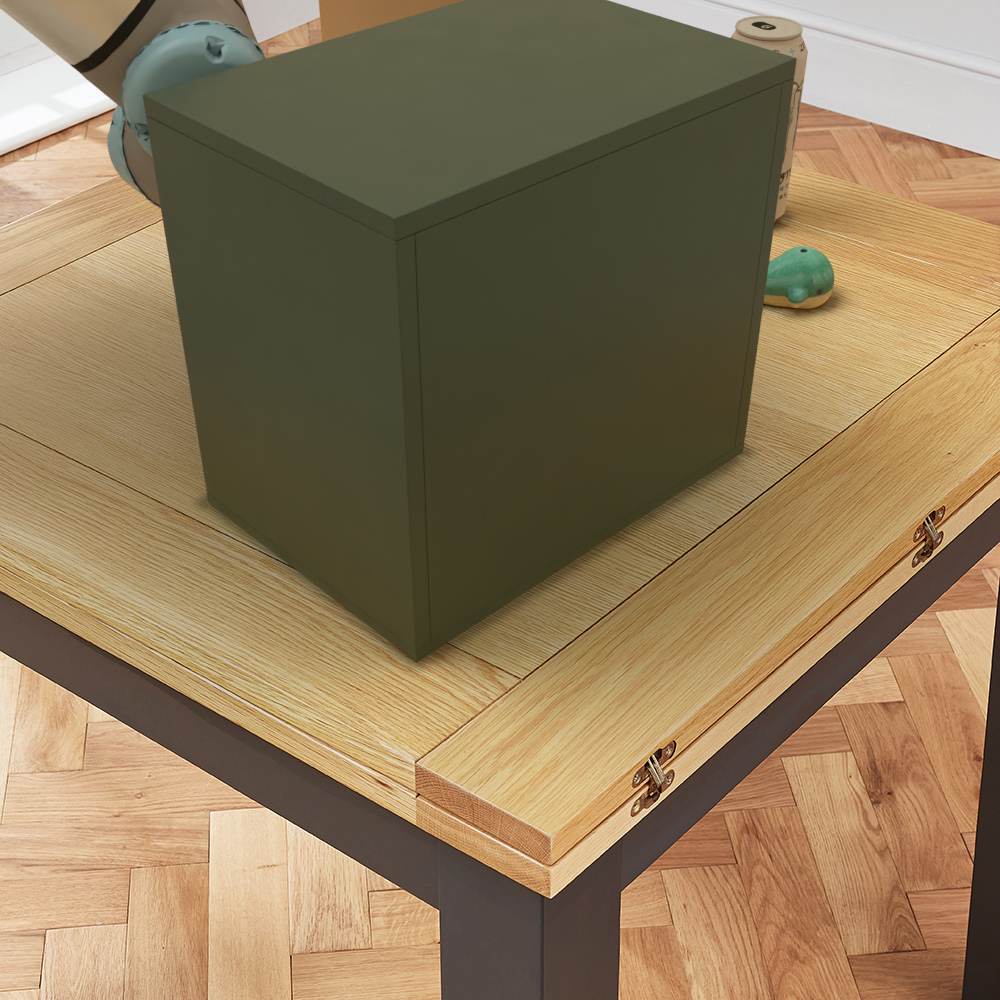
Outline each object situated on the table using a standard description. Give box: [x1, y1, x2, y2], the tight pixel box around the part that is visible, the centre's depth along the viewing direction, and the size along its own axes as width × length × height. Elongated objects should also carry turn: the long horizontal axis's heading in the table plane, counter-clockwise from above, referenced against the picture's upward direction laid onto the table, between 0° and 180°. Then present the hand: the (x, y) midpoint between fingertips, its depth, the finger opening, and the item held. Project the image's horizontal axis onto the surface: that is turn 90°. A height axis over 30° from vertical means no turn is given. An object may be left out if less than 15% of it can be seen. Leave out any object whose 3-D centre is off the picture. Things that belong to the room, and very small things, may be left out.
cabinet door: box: [318, 0, 464, 42], centre depth 94 cm, size 7×26×24 cm, turn 34°
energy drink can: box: [730, 15, 809, 222], centre depth 102 cm, size 6×6×15 cm
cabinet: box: [143, 0, 797, 663], centre depth 72 cm, size 18×26×24 cm
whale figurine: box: [763, 245, 835, 310], centre depth 95 cm, size 6×7×4 cm
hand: (567, 351), depth 68 cm, fingers closed on candy box, 4 cm apart
